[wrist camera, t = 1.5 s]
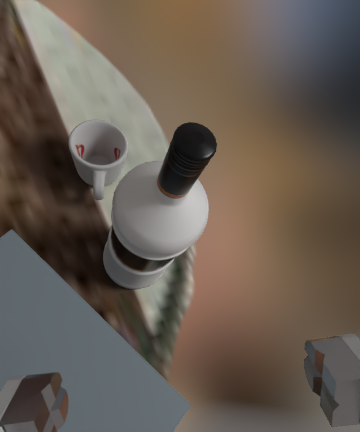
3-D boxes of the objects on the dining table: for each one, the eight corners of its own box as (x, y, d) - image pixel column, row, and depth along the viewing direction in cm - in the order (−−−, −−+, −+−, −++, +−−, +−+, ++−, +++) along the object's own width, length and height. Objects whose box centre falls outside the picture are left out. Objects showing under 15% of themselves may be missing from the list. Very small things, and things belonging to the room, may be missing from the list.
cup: (124, 210, 45) (129, 188, 38) (71, 209, 43) (65, 185, 36) (123, 152, 49) (127, 121, 42) (73, 148, 47) (69, 115, 40)
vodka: (113, 222, 44) (138, 52, 17) (170, 238, 45) (276, 105, 19) (94, 281, 40) (87, 183, 13) (157, 296, 42) (266, 237, 15)
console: (101, 427, 34) (105, 534, 16) (-3, 322, 35) (-105, 315, 18) (146, 369, 38) (190, 404, 20) (51, 275, 39) (11, 229, 21)
